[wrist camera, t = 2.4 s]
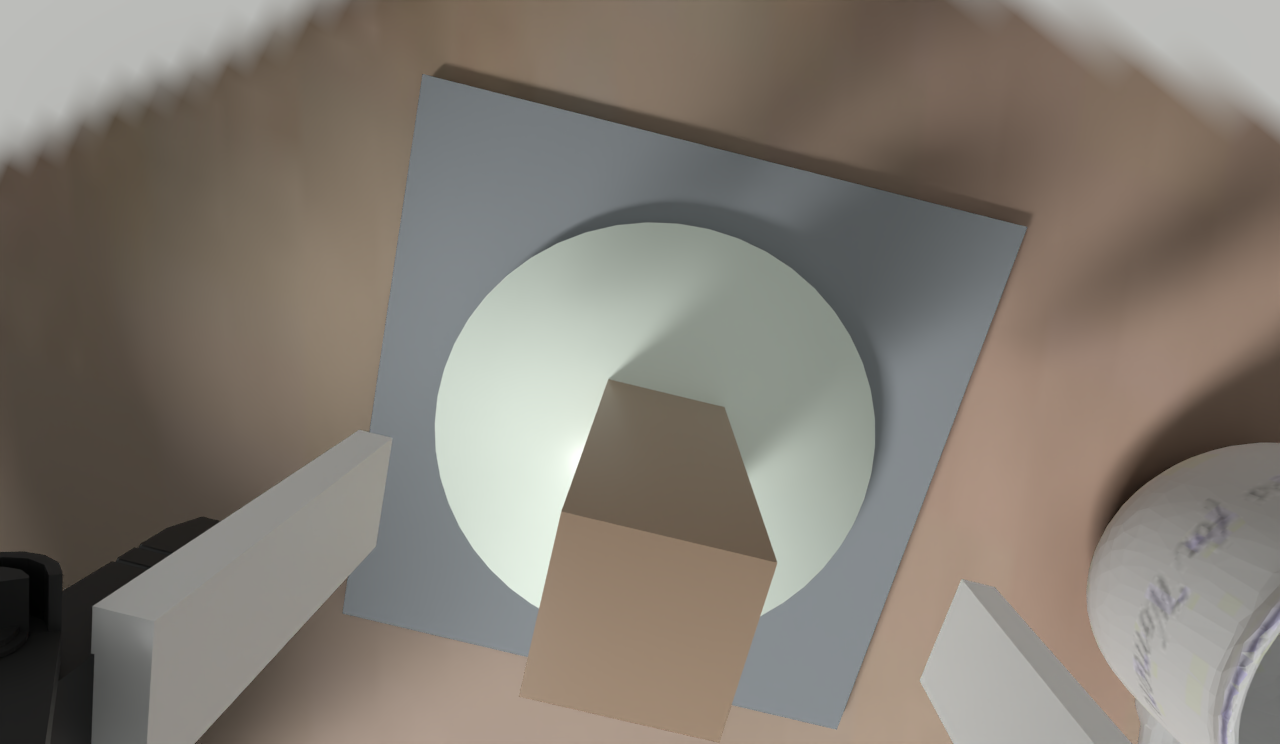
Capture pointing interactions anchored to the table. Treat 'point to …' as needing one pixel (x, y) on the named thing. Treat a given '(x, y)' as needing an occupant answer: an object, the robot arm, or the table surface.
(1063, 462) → the table surface
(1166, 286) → the table surface
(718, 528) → the lid
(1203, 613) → the teacup
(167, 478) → the table surface
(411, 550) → the mat
